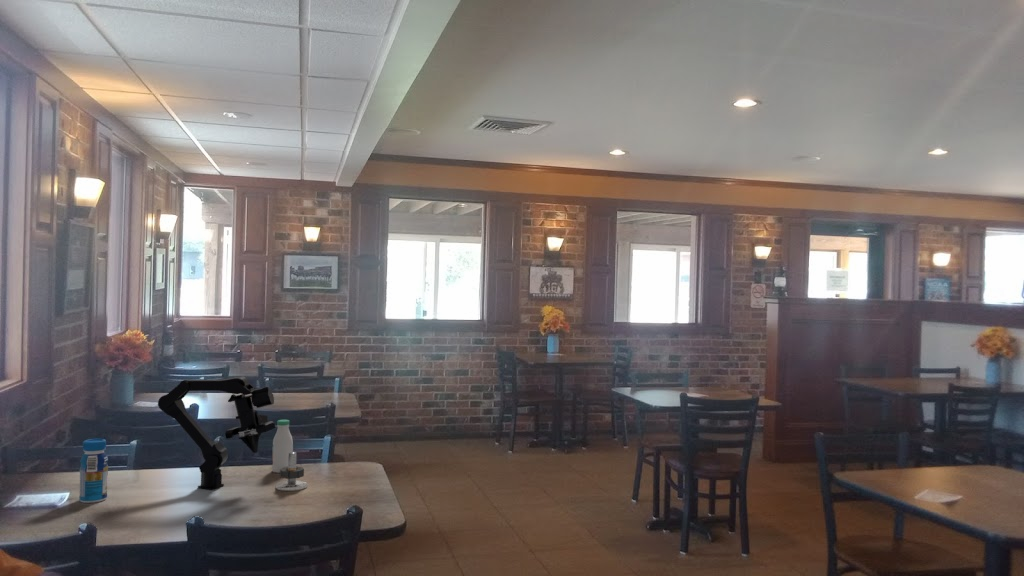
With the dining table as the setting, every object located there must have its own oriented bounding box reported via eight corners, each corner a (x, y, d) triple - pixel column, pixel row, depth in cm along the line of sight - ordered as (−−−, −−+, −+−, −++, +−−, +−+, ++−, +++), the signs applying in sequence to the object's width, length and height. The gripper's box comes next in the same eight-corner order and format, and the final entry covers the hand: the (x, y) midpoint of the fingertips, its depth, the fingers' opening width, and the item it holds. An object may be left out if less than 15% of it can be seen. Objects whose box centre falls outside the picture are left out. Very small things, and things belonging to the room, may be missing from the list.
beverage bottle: (72, 501, 246) (74, 441, 246) (94, 495, 254) (96, 436, 254) (91, 504, 244) (93, 443, 244) (113, 498, 252) (114, 439, 252)
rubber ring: (275, 477, 268) (275, 470, 268) (289, 472, 275) (289, 465, 275) (294, 479, 265) (294, 472, 265) (307, 474, 273) (307, 467, 273)
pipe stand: (269, 489, 267) (270, 454, 267) (288, 481, 277) (289, 448, 277) (294, 492, 263) (295, 457, 263) (313, 485, 274) (314, 451, 274)
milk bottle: (296, 470, 295) (297, 420, 295) (281, 474, 288) (282, 422, 288) (283, 467, 299) (284, 418, 299) (267, 471, 292) (268, 420, 292)
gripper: (280, 401, 273) (290, 443, 273) (241, 409, 280) (250, 449, 280) (259, 409, 263) (270, 452, 263) (219, 416, 270) (229, 458, 270)
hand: (255, 452), depth 269 cm, fingers closed
